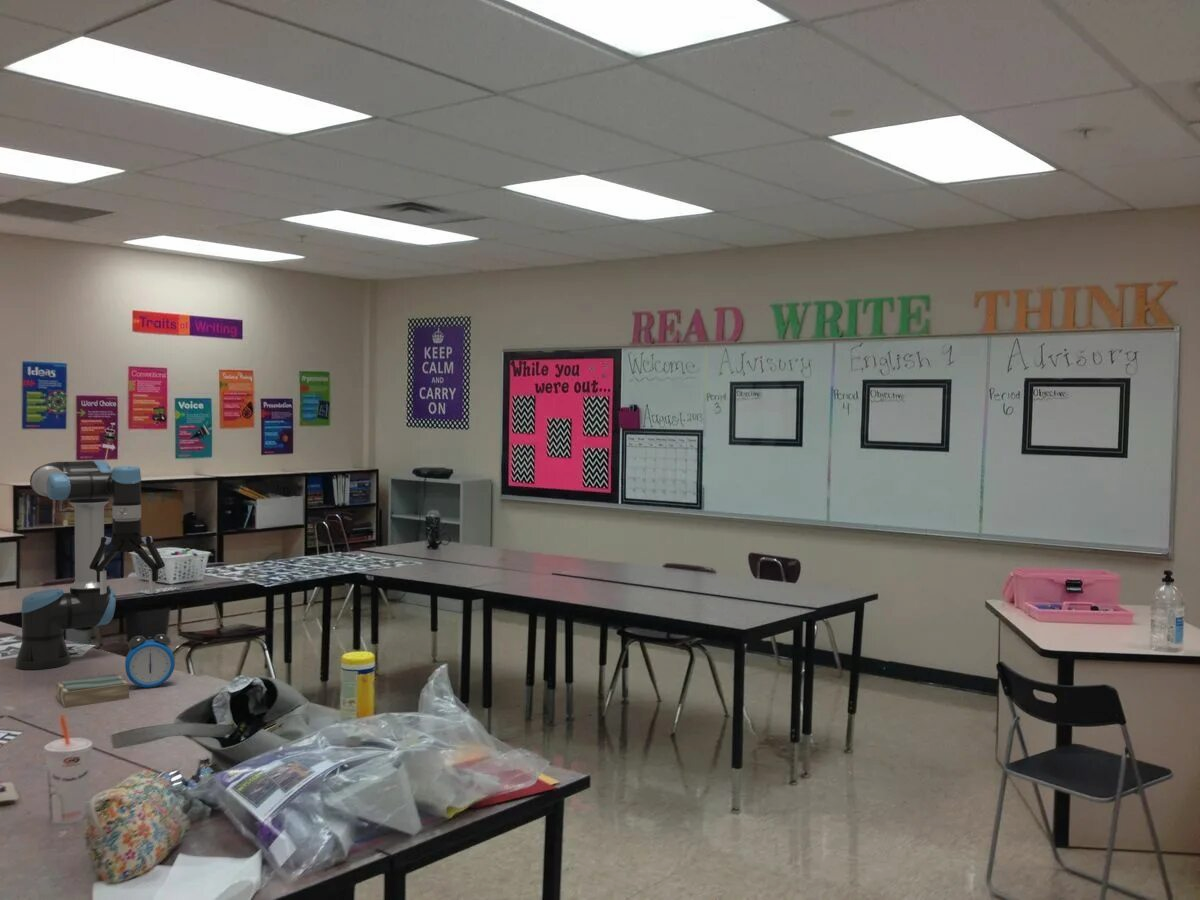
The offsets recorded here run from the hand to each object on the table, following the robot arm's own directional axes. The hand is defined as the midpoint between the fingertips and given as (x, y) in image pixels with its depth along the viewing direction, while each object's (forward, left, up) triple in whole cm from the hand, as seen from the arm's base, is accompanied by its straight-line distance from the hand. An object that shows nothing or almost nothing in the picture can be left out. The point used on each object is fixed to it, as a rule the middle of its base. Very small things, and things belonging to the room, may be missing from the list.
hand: (127, 593), depth 295 cm
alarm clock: (0, +6, -28) cm, 29 cm away
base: (+4, -10, -28) cm, 30 cm away
